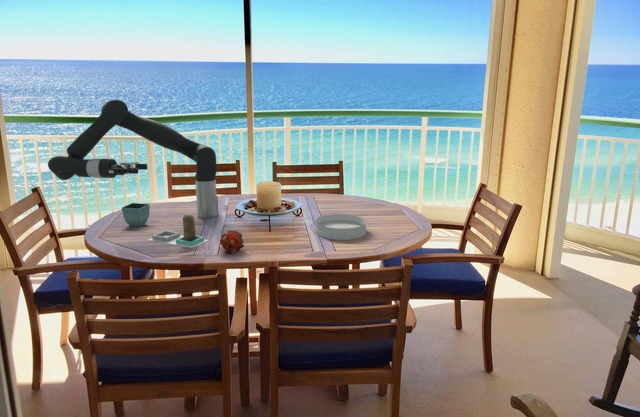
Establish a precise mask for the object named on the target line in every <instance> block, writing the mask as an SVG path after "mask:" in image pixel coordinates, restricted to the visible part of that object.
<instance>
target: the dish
mask: <svg viewBox="0 0 640 417" xmlns="http://www.w3.org/2000/svg"><path fill="white" fill-rule="evenodd" d="M314 233H315V234H316V235H317V236H319V237H320V238H324V239H329V240H338V241H341V240H343V241H344V240H345V241H347V240H355V239H360V238H361V237H364V236H365V235H366V234H367V221H366V219H365V218H363V217H361V216H357V215H352V214H345V213H344V214H342V213H333V214H326V215H322V216H319V217H317V218H316V219H315V226H314Z"/></svg>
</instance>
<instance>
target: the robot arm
mask: <svg viewBox="0 0 640 417" xmlns="http://www.w3.org/2000/svg"><path fill="white" fill-rule="evenodd" d="M100 112H101V113H100V115H99V116H98V117H97V118H96V120H94V122H92V123H91V125H90V126H88V128H86V129H85V130H84V131H83V132H81V134H79V135H78V136H77V137H76V138H75V140H73V142H72V143H70V144H69V145H68V147H67V148H66V153H67V155H56V156H53V157H51V158H50V159H49V160H48V161H47V167H48V169H49V170H50V172H51V173H52V174H53V175H55V176H56V177H57V178H58V179H60V180H61V181H67V180H70V179H71V178H72V177H74V176H77V177H80V178H95V179H96V178H97V179H114V178H116V177H117V176H124V175H129V174H130V175H135V174H139V170H142V171H143V170H145V171H146V170H148V164H147V163H139V162H138V161H136V162H130V161H129V162H128V161H124V162H119V163H118V162H117V160H115V159H114V158H92V159H91V158H90V159H89V158H88V159H87V158H86V159H85V157H87V155H89V154H90V152H91V151H92V150H93V149H94V148H95V147H96V146H97V144H98V143H99V142H100V141H101V140H102V139H103V138H104V136H106V134H107V133H108V132H110V130H112V129H113V128H114V127H115V126H118V127H120V128H123V129H126V130H129V131H131V132H133V133H135V134H136V135H138V136H140V137H141V138H143V139H145V140H148V141H149V142H151V143H154V144H155V145H158V146H160V147H162V148H164V149H167V150H170V151H173V152H177V153H180V154H181V155H184V156H185V157H188V159H190V160H192V161H194V162H195V163H196V173H195V176H194V178H195V179H194V180H195V182H194V183H195V193H196V194H195V195H196V196H195V197H196V214H197V217H199V218H203V219H204V218H214V217H216V216H219V215H220V213H219V212H220V211H219V197H218V196H219V195H217V181H216V180H217V179H216V175H217V155H216V152H215V150H214V149H213V148H211V147H210V146H207V145H204V144H201V143H198V142H195V141H194V140H191V139H190V138H189V139H188V138H187V137H186V136H184V135H182V134H181V133H180V132H178V131H177V130H175V129H174V128H172V127H170V126H168V125H165V124H164V123H162V122H160V121H157V120H153V119H150V118H146V117H143V116H139V115H137V114H135V113H133V112H131V111H129V107H128V105H127V104H126V103H125V101H123V100H121V99H118V98H117V99H115V98H114V99H111V100H109V101H107V102H106V103H104V104H103V105H102V107H101V110H100Z"/></svg>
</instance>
